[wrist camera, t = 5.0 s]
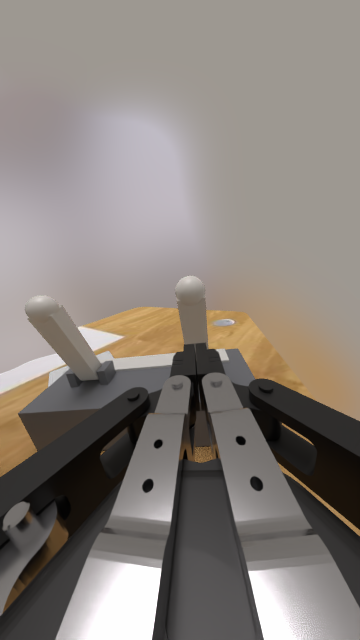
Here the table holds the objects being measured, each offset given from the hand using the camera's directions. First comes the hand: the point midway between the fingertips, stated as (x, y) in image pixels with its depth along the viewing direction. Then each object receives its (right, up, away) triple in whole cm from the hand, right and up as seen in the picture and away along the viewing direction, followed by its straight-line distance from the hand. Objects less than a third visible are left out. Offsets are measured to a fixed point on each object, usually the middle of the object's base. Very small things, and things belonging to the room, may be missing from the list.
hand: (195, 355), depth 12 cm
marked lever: (+1, -3, +9) cm, 10 cm away
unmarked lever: (-13, -5, +11) cm, 17 cm away
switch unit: (-5, -10, +12) cm, 17 cm away
